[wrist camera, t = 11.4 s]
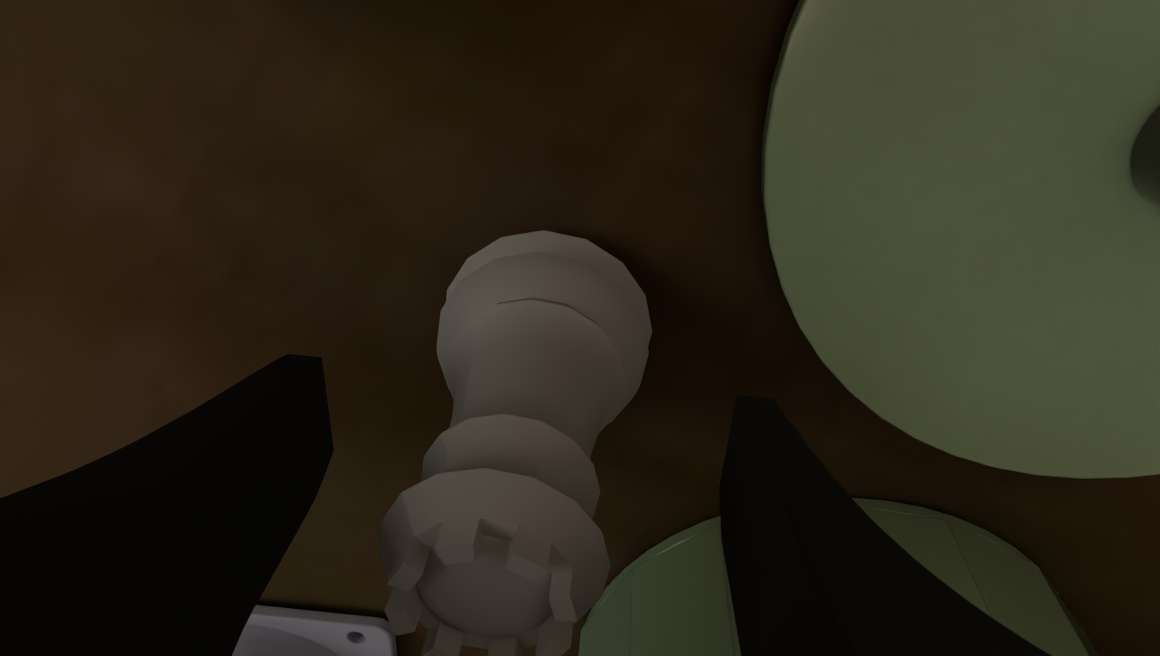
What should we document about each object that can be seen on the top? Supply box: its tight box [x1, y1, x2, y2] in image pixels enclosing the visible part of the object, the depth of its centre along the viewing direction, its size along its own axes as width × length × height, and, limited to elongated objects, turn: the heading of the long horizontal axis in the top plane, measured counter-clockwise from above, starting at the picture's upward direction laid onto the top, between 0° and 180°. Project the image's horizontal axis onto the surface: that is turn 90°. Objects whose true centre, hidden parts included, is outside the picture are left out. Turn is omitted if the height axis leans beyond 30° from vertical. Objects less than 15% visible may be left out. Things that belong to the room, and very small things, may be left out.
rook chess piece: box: [378, 230, 652, 656], centre depth 14 cm, size 4×4×8 cm
